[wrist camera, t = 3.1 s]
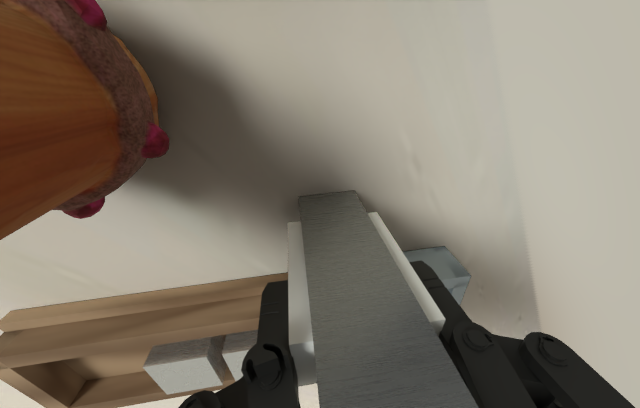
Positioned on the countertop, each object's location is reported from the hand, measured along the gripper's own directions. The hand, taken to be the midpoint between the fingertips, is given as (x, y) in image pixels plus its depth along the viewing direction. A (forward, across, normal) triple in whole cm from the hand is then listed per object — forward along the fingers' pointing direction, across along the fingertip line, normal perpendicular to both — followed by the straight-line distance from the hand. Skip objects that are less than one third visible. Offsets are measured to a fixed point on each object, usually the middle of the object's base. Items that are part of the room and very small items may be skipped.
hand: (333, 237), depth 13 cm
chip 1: (+1, -11, -10) cm, 15 cm away
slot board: (+2, -12, -10) cm, 15 cm away
